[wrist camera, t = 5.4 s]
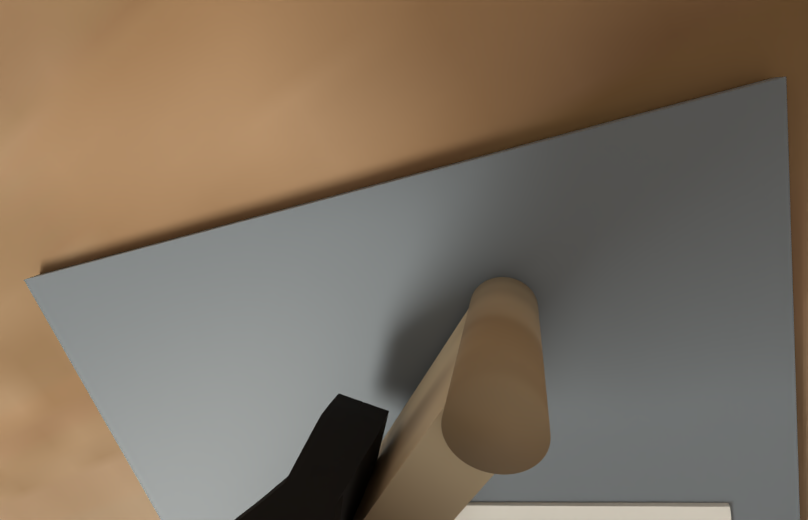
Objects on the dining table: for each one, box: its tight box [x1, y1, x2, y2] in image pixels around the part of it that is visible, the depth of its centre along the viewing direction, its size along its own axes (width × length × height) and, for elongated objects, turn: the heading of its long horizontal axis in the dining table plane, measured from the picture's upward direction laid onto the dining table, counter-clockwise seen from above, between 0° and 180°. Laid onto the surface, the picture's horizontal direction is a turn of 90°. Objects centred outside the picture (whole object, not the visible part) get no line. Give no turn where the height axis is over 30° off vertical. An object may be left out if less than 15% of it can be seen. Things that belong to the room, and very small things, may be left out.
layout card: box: [24, 77, 800, 520], centre depth 12 cm, size 18×19×1 cm
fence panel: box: [352, 277, 551, 520], centre depth 9 cm, size 9×1×4 cm, turn 154°
